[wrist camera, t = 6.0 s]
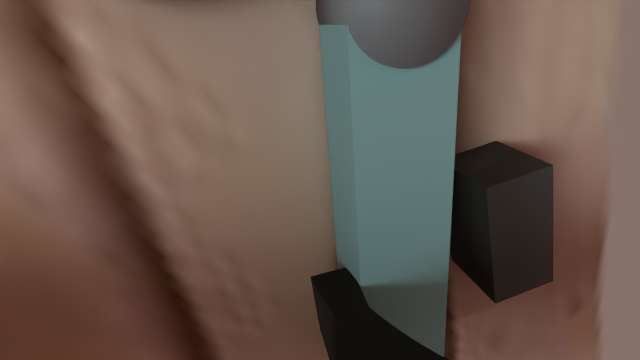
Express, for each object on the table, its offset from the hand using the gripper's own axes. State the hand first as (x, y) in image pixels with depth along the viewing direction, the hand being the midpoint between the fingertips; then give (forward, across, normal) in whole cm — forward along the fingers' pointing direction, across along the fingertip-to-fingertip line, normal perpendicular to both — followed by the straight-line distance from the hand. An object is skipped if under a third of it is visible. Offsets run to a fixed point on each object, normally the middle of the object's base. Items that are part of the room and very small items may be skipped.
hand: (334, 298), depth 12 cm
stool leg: (+1, -2, -3) cm, 4 cm away
